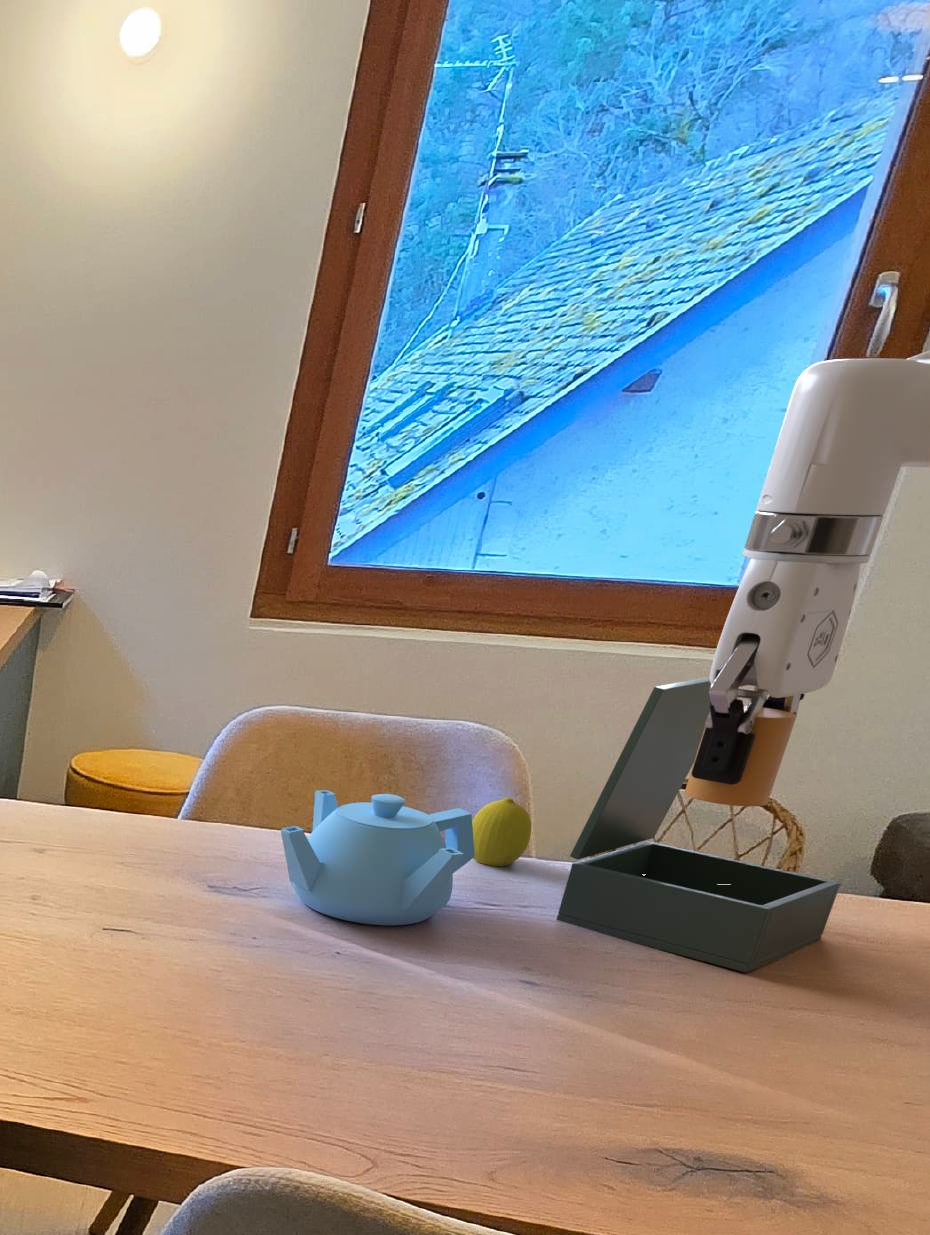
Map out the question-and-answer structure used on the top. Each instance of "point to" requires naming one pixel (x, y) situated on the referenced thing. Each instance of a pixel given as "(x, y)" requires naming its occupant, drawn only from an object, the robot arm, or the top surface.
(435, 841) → the teapot
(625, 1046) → the top surface
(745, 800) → the orange cylinder
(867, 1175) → the top surface
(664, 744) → the lid
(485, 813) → the lemon
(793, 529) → the robot arm
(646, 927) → the grey hinged box
